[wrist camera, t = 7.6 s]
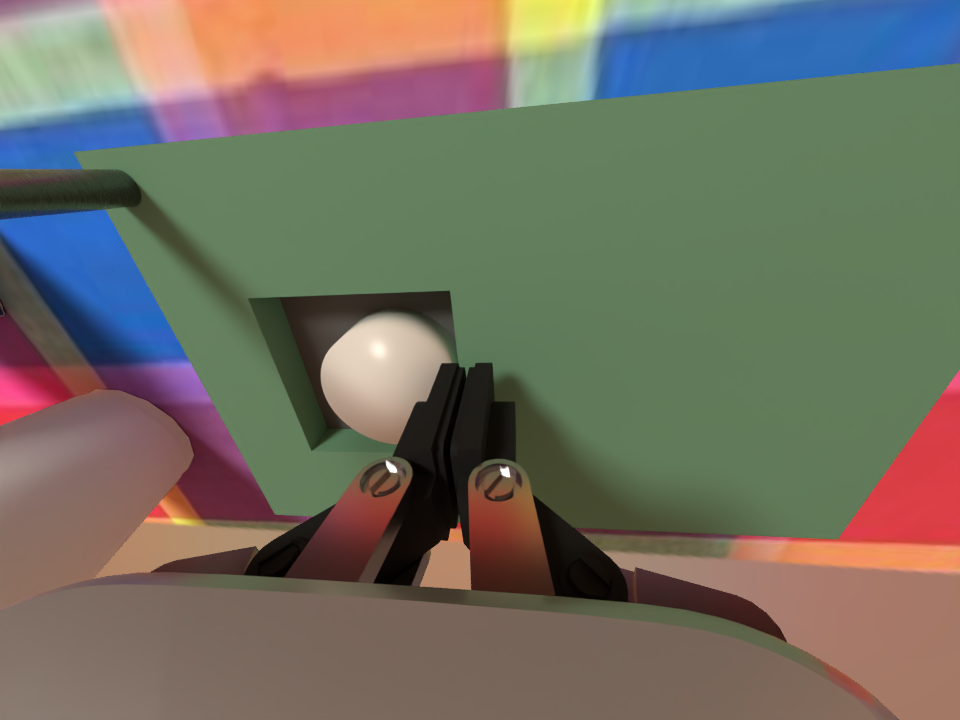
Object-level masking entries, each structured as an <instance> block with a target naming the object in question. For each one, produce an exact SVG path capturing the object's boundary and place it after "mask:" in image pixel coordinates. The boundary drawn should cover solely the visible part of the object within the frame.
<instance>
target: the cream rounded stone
mask: <svg viewBox="0 0 960 720" xmlns="http://www.w3.org/2000/svg"><path fill="white" fill-rule="evenodd" d="M442 363H458V356H457V347H456V341H455V339H454V338H453V337H452V335H451V334H450V333H449V332H448V331H447V330H446V329H445V328H444V327H443V326H442V325H441V324H439V323H438V322H437V321H435V320H434V319H432V318H430V317H429V316H427V315H424V314H422V313H420V312H417V311H413V310H409V309H404V308H386V309H381V310H377V311H374V312H372V313H370V314H368V315H366V316H364V317H363V318H362V319H360V320H359V321H358V322H357V323H356V324H355V325H354V326H353V327H352V328H351V329H350V330H349V331H347V332H346V333H345V334H344V335H343V336H342V337H341V338H340V339H339V340H338V341H337V342H336V343H335V344H334V345H333V346H332V347H331V348H330V349H329V351H328V352H327V354H326V355H325V358H324V360H323V363H322V367H321V385H322V389H323V392H324V395H325V397H326V399H327V401H328V403H329V405H330V406H331V408H332V409H333V411H334V412H335V413H336V414H337V415H338V417H339V418H340V419H341V420H342V421H343V422H345V423H346V424H347V425H348V426H350V427H351V428H352V429H354V430H355V431H357V432H359V433H360V434H362V435H364V436H366V437H368V438H371V439H374V440H376V441H380V442H383V443H389V444H398V442H399V440H400V437H401V435H402V433H403V431H404V428H405V426H406V424H407V421H408V419H409V417H410V415H411V412H412V410H413V408H414V405H415V404H416V402H418V401H427V399H428V396H429V394H430V391H431V389H432V386H433V384H434V381H435V379H436V376H437V373H438V371H439V368H440V366H441V364H442Z"/></svg>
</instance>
